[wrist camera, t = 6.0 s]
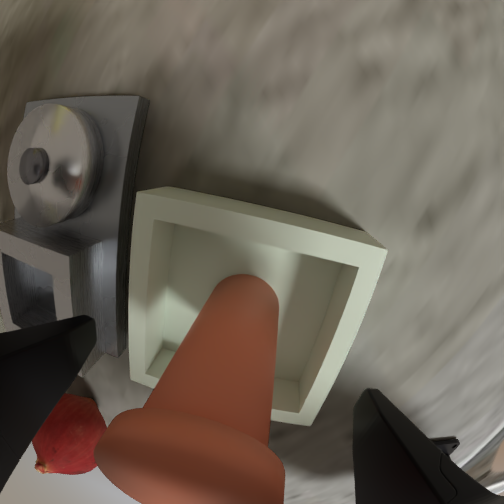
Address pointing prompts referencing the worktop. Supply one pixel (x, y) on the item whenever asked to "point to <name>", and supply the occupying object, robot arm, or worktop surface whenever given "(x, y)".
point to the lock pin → (207, 411)
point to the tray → (257, 264)
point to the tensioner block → (71, 215)
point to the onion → (69, 436)
